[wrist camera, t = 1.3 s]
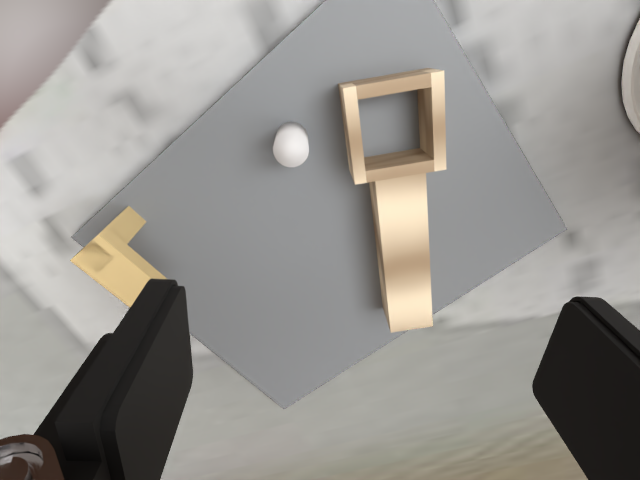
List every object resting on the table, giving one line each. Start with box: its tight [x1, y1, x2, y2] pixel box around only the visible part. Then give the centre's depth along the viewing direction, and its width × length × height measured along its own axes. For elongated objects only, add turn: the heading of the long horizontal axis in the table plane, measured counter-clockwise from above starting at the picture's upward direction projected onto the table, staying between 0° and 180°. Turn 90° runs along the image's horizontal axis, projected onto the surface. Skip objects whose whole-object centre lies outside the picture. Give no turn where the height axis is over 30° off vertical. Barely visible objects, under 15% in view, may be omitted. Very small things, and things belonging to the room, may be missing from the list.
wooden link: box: [338, 68, 446, 333], centre depth 26 cm, size 17×5×3 cm, turn 9°
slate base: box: [70, 0, 567, 409], centre depth 26 cm, size 22×27×6 cm
